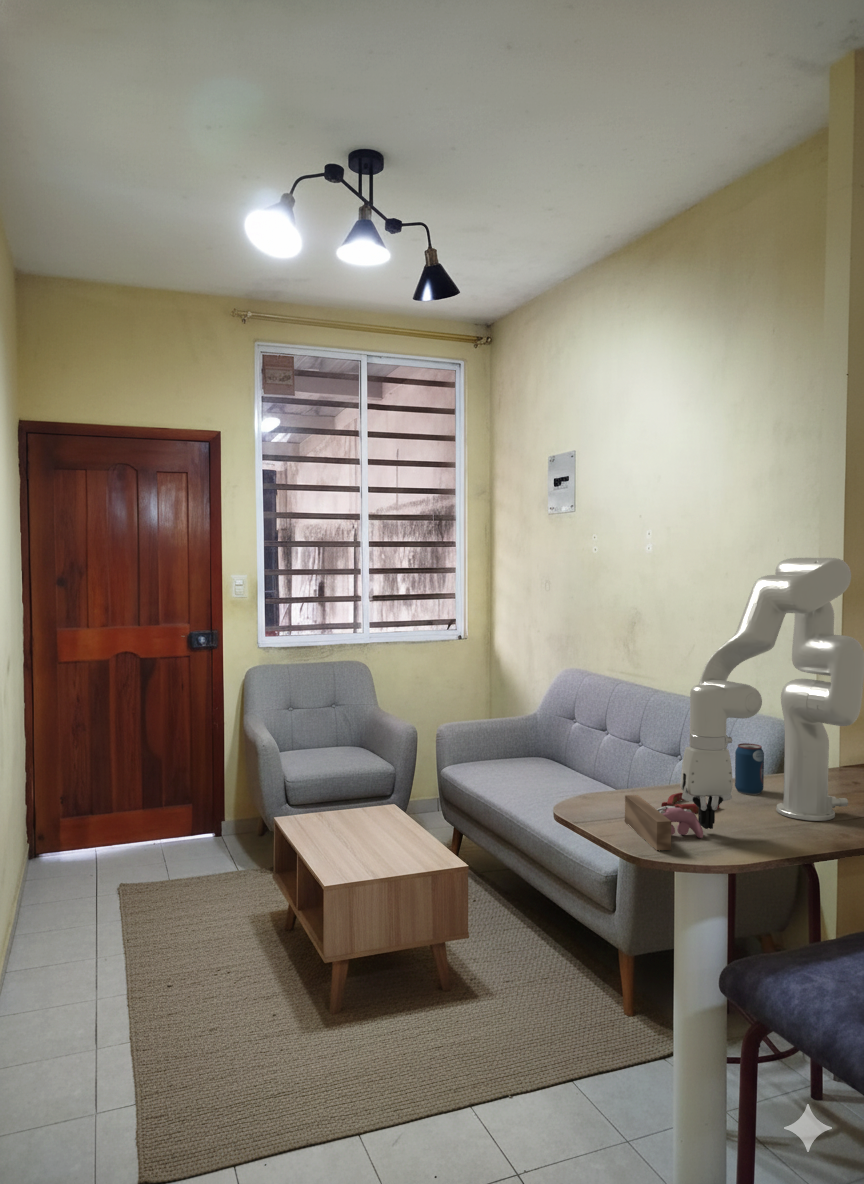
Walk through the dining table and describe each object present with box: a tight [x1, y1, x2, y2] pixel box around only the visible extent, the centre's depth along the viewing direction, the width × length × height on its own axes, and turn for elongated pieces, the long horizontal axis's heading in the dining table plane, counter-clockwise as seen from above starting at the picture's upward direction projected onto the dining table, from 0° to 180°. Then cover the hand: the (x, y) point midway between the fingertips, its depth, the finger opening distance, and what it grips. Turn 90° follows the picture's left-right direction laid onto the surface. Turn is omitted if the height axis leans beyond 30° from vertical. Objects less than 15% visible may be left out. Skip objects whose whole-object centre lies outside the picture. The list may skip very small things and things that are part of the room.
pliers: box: [655, 792, 720, 814], centre depth 202 cm, size 12×20×3 cm, turn 132°
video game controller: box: [659, 808, 704, 839], centre depth 183 cm, size 10×5×7 cm, turn 101°
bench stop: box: [624, 794, 672, 852], centre depth 183 cm, size 3×20×6 cm, turn 6°
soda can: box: [734, 742, 765, 796], centre depth 220 cm, size 7×7×12 cm
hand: (706, 826), depth 185 cm, fingers closed
